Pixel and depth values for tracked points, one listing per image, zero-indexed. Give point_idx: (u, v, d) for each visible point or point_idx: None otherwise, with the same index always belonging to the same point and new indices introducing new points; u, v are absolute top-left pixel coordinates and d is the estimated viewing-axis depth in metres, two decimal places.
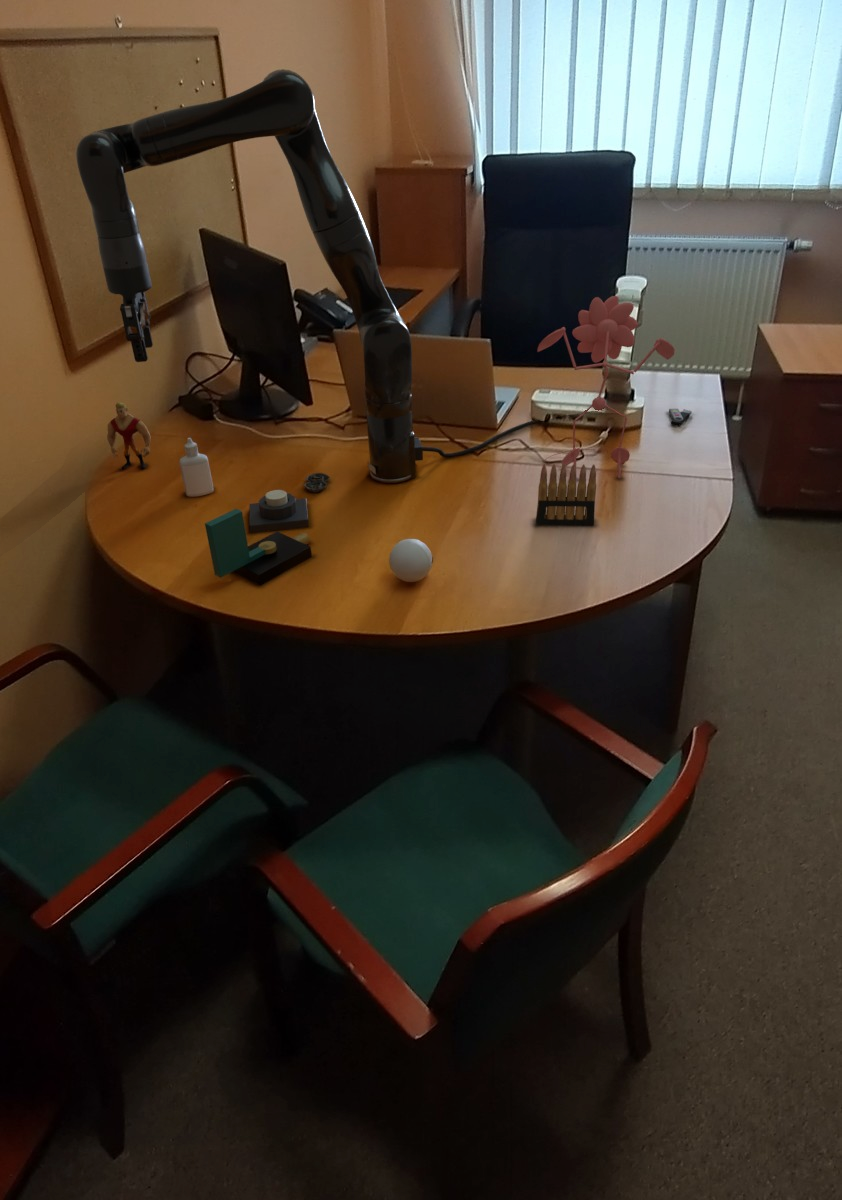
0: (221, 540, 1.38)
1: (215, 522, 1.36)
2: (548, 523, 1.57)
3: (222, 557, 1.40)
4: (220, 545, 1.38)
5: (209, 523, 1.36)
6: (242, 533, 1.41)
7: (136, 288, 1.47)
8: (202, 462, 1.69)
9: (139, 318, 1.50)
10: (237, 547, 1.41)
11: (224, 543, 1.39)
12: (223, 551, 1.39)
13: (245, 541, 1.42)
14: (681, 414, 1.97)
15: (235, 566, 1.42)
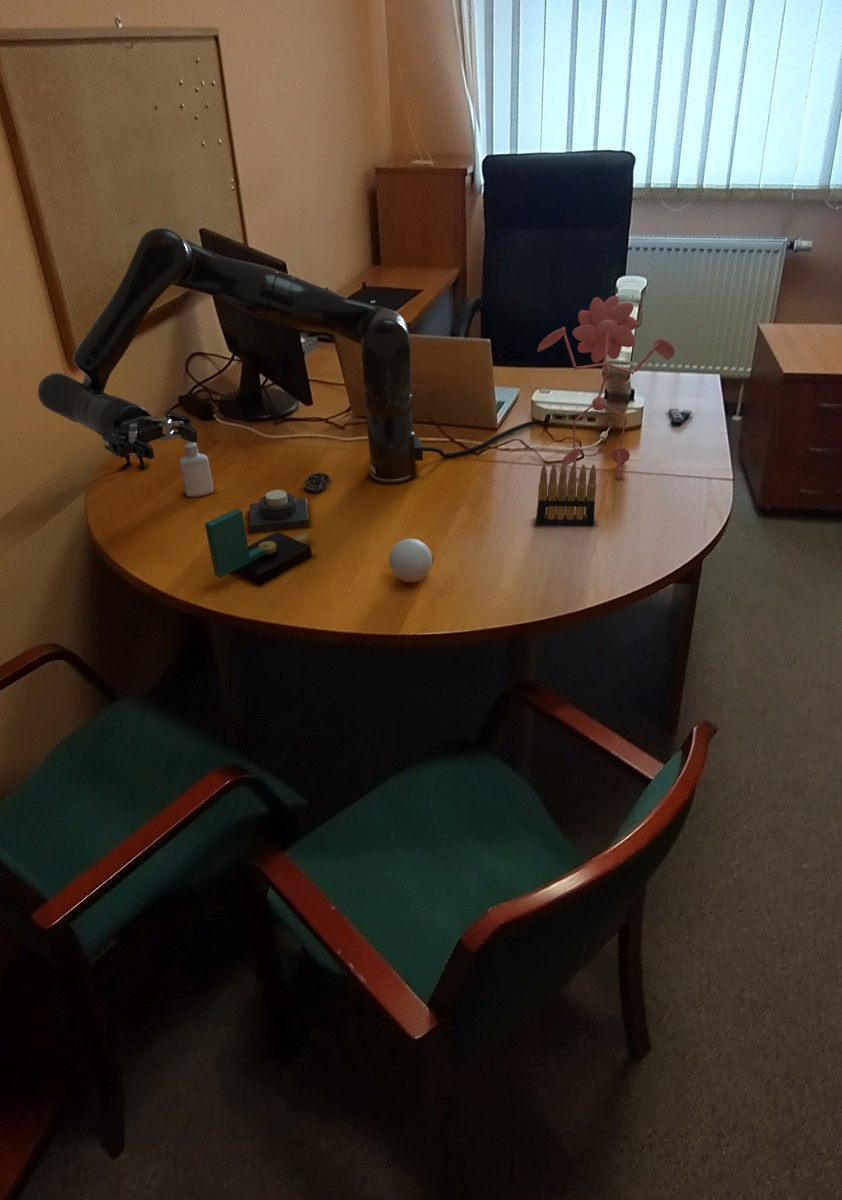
0: (221, 540, 1.38)
1: (215, 522, 1.36)
2: (548, 523, 1.57)
3: (222, 557, 1.40)
4: (220, 545, 1.38)
5: (209, 523, 1.36)
6: (242, 533, 1.41)
7: (111, 422, 1.42)
8: (202, 462, 1.69)
9: None
10: (237, 547, 1.41)
11: (224, 543, 1.39)
12: (223, 551, 1.39)
13: (245, 541, 1.42)
14: (681, 414, 1.97)
15: (235, 566, 1.42)
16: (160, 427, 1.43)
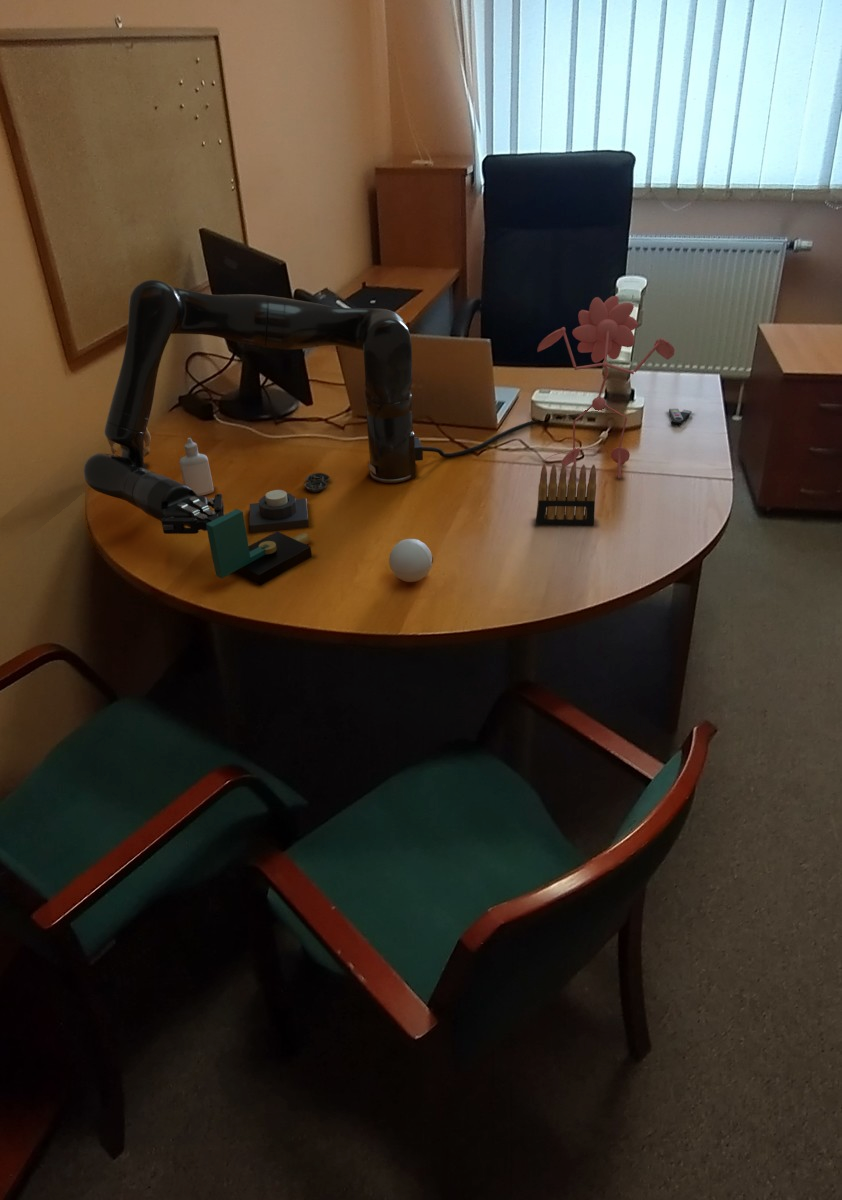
0: (223, 541, 1.38)
1: (216, 522, 1.36)
2: (548, 523, 1.57)
3: (223, 557, 1.39)
4: (221, 545, 1.38)
5: (210, 524, 1.36)
6: (243, 533, 1.41)
7: (158, 504, 1.44)
8: (202, 462, 1.69)
9: (182, 515, 1.42)
10: (238, 547, 1.41)
11: (225, 543, 1.39)
12: (224, 551, 1.39)
13: (246, 541, 1.42)
14: (681, 414, 1.97)
15: (236, 566, 1.42)
16: None
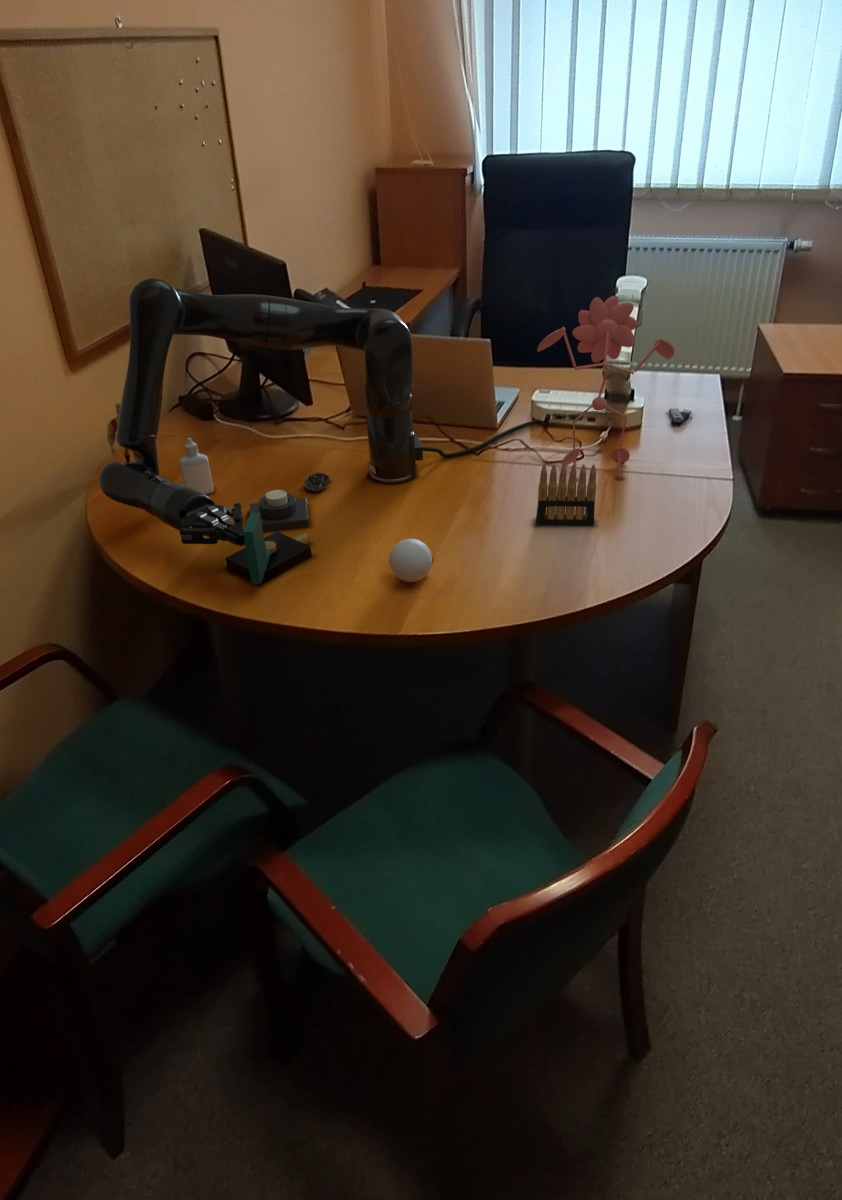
0: (257, 545, 1.37)
1: (251, 527, 1.34)
2: (548, 523, 1.57)
3: (259, 562, 1.38)
4: (257, 550, 1.37)
5: (247, 530, 1.34)
6: (262, 535, 1.40)
7: (176, 513, 1.41)
8: (202, 462, 1.69)
9: (200, 525, 1.39)
10: (262, 550, 1.40)
11: (258, 547, 1.37)
12: (259, 556, 1.38)
13: (264, 543, 1.42)
14: (681, 414, 1.97)
15: (264, 570, 1.41)
16: None
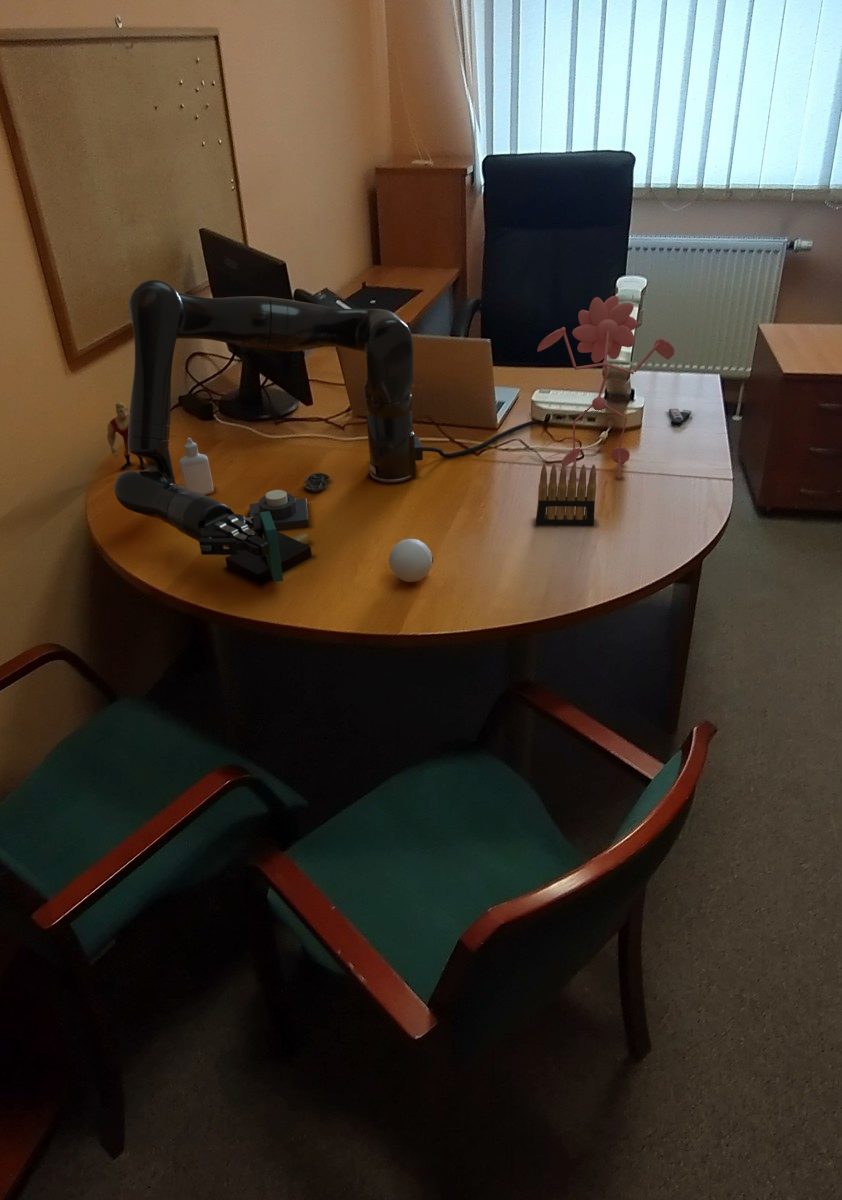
0: None
1: (272, 525, 1.35)
2: (548, 523, 1.57)
3: None
4: None
5: (269, 528, 1.34)
6: None
7: (195, 523, 1.38)
8: (202, 462, 1.69)
9: (220, 535, 1.36)
10: None
11: None
12: None
13: None
14: (681, 414, 1.97)
15: None
16: None
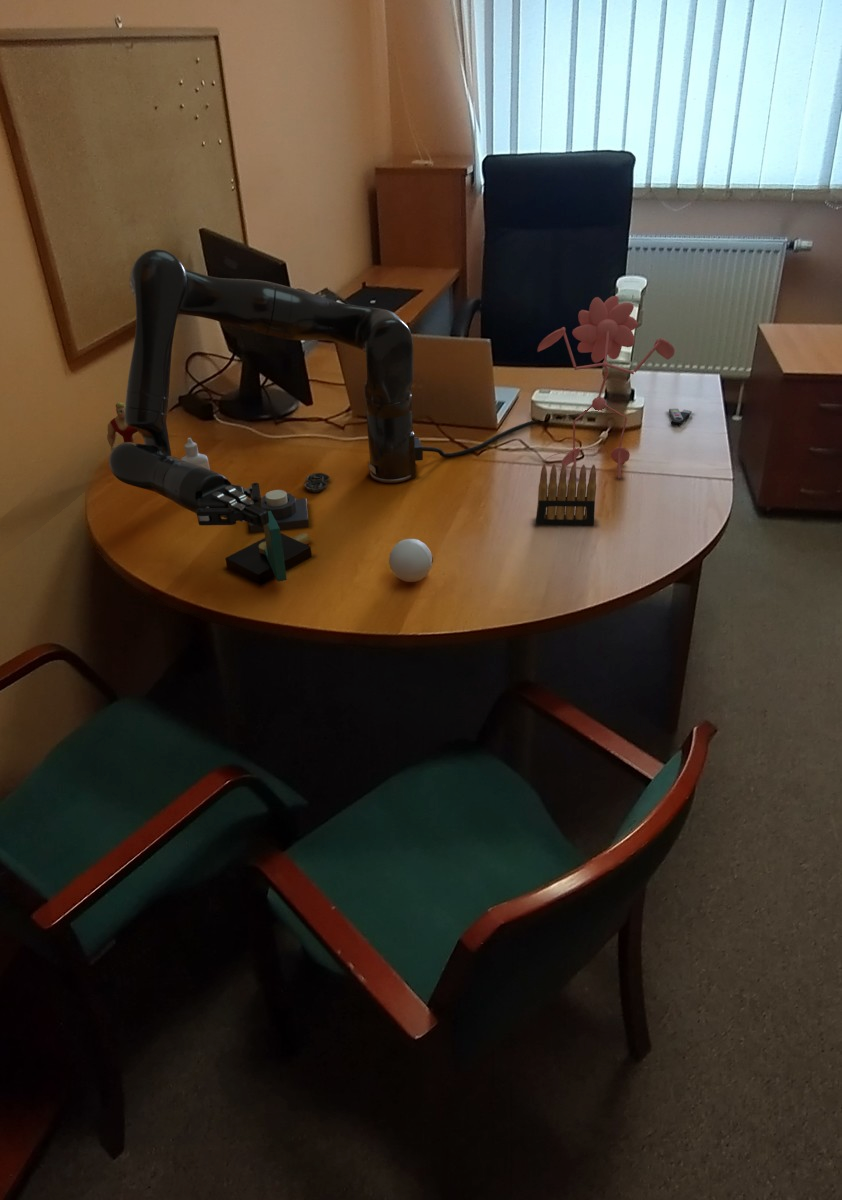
0: None
1: (275, 524, 1.35)
2: (548, 523, 1.57)
3: None
4: None
5: (273, 527, 1.34)
6: None
7: (192, 494, 1.35)
8: (202, 462, 1.69)
9: (218, 505, 1.33)
10: None
11: None
12: None
13: None
14: (681, 414, 1.97)
15: None
16: None
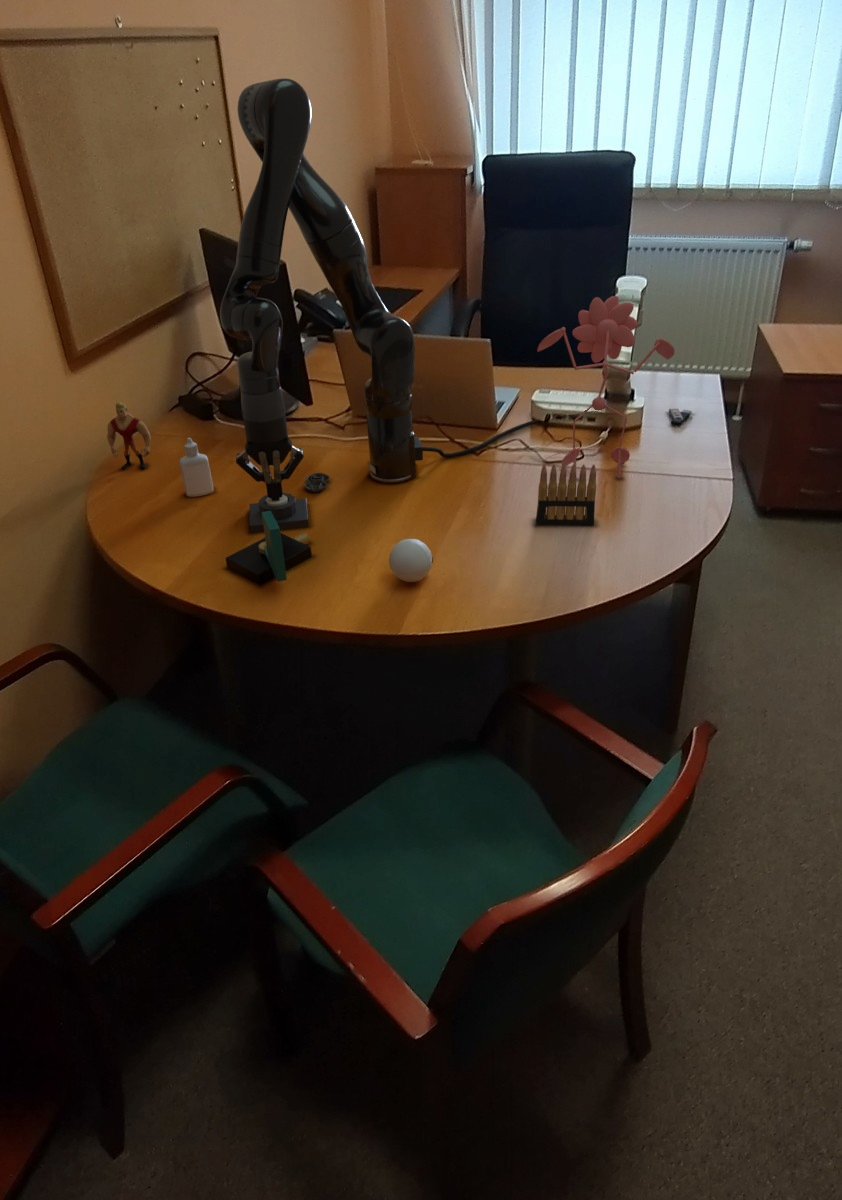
0: None
1: (275, 524, 1.35)
2: (548, 523, 1.57)
3: None
4: None
5: (273, 527, 1.34)
6: None
7: None
8: (202, 462, 1.69)
9: None
10: None
11: None
12: None
13: None
14: (681, 414, 1.97)
15: None
16: None
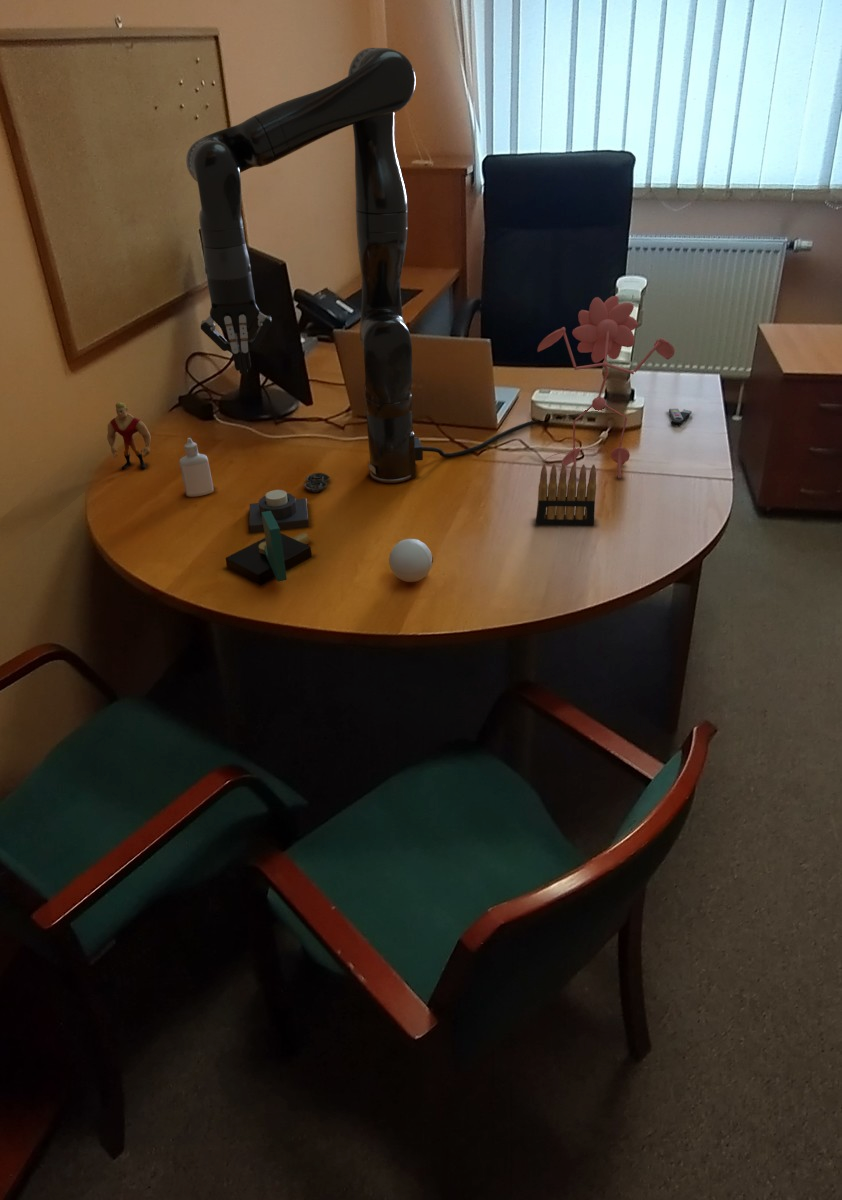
0: None
1: (275, 524, 1.35)
2: (548, 523, 1.57)
3: None
4: None
5: (273, 527, 1.34)
6: None
7: None
8: (202, 462, 1.69)
9: None
10: None
11: None
12: None
13: None
14: (681, 414, 1.97)
15: None
16: None
